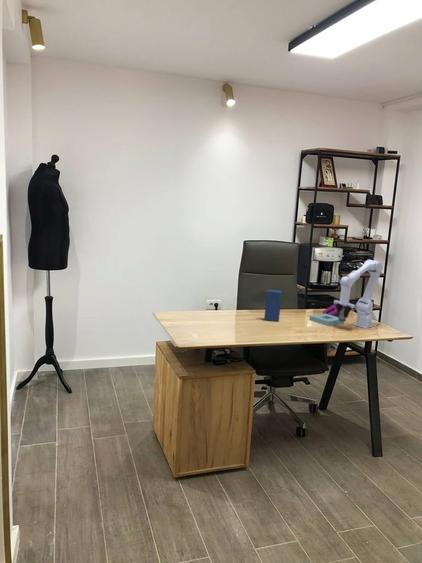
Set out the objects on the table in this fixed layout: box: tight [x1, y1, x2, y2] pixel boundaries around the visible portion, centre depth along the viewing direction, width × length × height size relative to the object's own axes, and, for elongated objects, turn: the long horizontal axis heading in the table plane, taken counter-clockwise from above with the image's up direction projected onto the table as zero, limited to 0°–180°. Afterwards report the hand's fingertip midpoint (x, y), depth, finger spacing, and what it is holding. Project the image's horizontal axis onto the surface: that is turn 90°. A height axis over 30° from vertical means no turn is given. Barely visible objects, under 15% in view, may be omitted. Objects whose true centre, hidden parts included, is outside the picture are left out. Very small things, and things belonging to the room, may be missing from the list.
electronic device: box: [263, 289, 283, 322], centre depth 303 cm, size 10×5×20 cm, turn 84°
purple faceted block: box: [322, 303, 346, 317], centre depth 329 cm, size 9×8×18 cm
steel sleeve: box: [338, 309, 347, 322], centre depth 296 cm, size 4×4×7 cm
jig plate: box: [309, 313, 345, 327], centre depth 311 cm, size 16×16×3 cm
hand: (342, 316), depth 296 cm, fingers closed on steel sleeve, 4 cm apart
